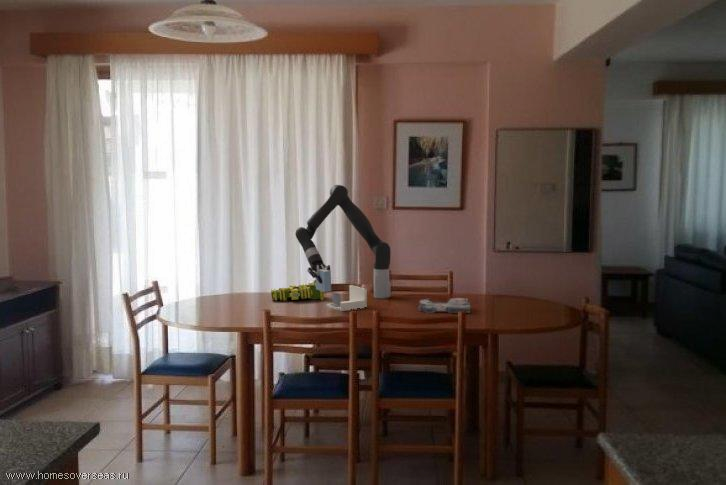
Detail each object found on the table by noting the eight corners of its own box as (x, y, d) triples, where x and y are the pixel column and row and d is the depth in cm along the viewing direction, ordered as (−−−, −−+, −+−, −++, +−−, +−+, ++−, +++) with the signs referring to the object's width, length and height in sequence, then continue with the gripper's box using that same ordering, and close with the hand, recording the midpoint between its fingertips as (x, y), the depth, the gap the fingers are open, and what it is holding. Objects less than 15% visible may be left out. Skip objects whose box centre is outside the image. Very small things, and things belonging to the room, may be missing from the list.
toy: (270, 284, 367) (320, 279, 372) (271, 301, 368) (321, 295, 373) (271, 289, 351) (323, 283, 355) (272, 307, 352) (324, 301, 357)
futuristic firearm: (470, 304, 340) (470, 315, 321) (419, 304, 345) (416, 315, 326) (470, 295, 339) (469, 305, 320) (419, 295, 344) (416, 305, 325)
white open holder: (351, 302, 351) (351, 285, 350) (366, 307, 338) (366, 289, 337) (327, 306, 343) (326, 288, 342) (341, 311, 329) (341, 292, 328)
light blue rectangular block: (322, 288, 340) (321, 268, 339) (331, 291, 332) (330, 270, 331) (315, 289, 338) (315, 269, 337) (324, 292, 330) (324, 271, 328)
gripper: (304, 254, 335) (315, 279, 326) (327, 252, 343) (338, 276, 334) (300, 263, 340) (311, 287, 331) (322, 260, 348) (334, 284, 339)
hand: (325, 282), depth 333 cm, fingers closed on light blue rectangular block, 4 cm apart
